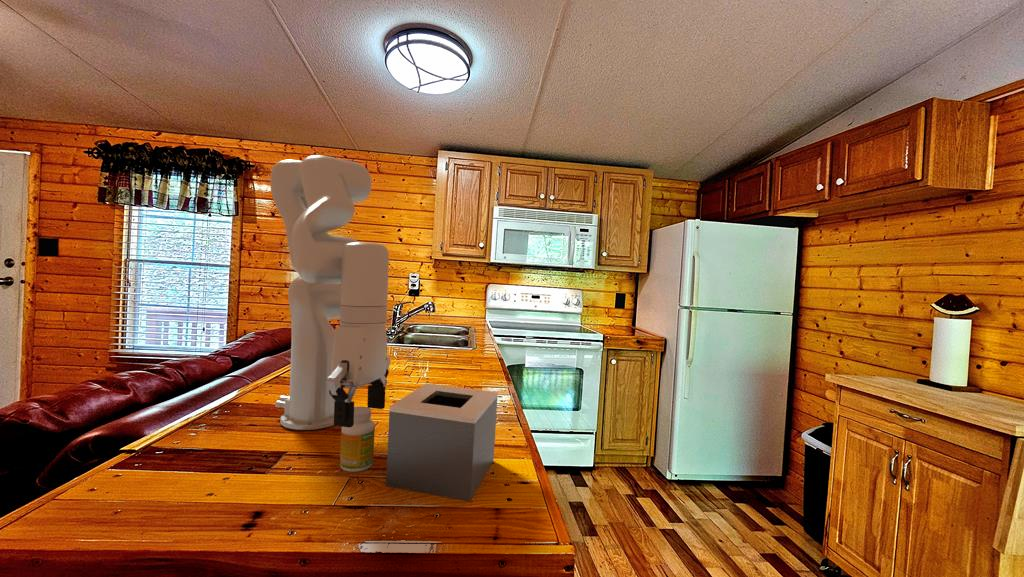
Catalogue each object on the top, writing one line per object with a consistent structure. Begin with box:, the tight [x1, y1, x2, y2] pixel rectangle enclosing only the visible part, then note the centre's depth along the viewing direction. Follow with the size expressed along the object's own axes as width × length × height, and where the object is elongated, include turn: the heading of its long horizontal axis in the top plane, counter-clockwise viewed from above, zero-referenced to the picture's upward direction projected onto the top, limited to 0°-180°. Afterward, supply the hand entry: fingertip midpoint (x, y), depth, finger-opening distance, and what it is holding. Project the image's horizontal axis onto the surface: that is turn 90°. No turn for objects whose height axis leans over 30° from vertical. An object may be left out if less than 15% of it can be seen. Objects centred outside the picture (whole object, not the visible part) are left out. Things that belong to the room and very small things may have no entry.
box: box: [385, 383, 499, 502], centre depth 72 cm, size 14×14×13 cm
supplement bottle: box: [339, 406, 376, 473], centre depth 72 cm, size 5×5×10 cm
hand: (360, 416), depth 71 cm, fingers open, 9 cm apart
